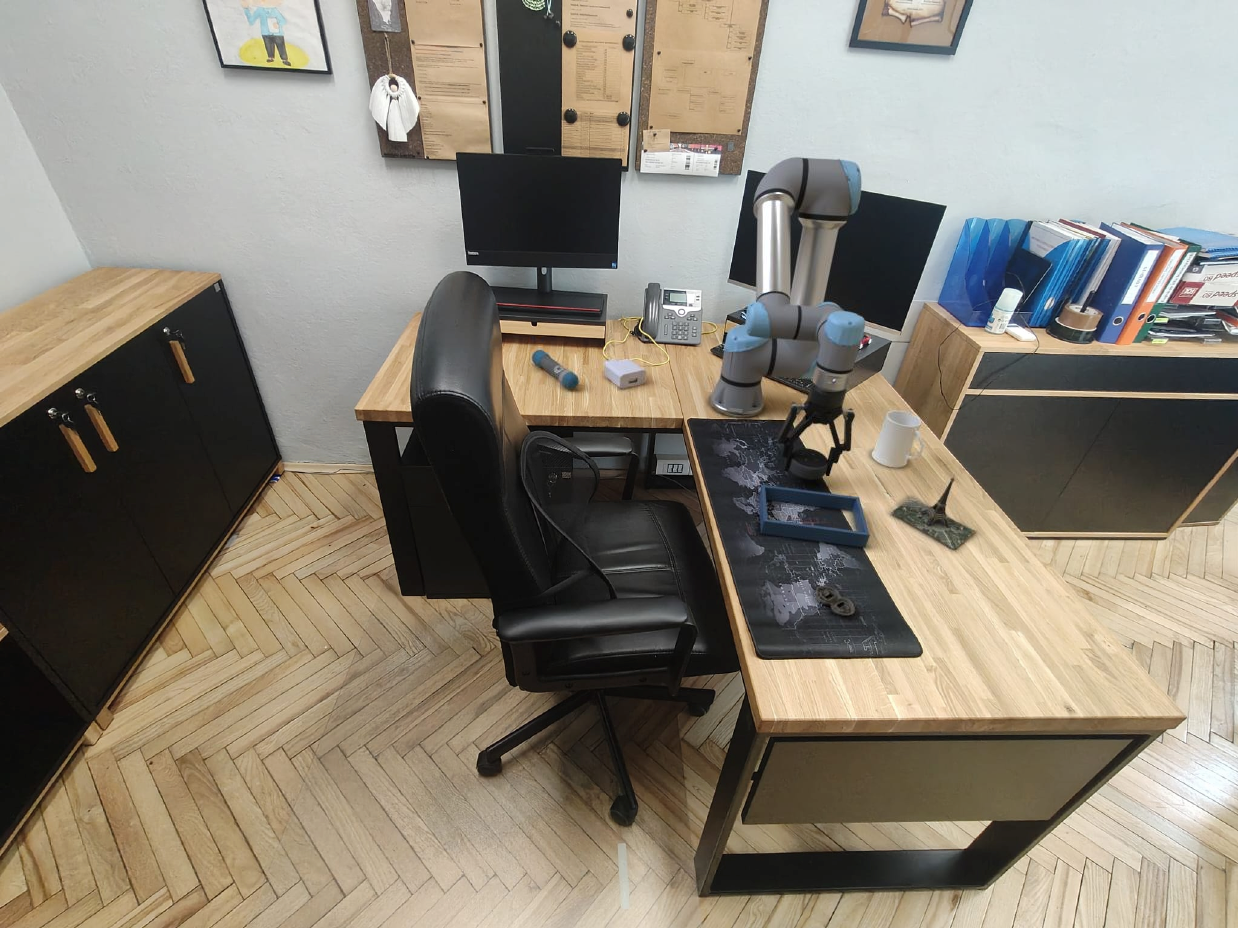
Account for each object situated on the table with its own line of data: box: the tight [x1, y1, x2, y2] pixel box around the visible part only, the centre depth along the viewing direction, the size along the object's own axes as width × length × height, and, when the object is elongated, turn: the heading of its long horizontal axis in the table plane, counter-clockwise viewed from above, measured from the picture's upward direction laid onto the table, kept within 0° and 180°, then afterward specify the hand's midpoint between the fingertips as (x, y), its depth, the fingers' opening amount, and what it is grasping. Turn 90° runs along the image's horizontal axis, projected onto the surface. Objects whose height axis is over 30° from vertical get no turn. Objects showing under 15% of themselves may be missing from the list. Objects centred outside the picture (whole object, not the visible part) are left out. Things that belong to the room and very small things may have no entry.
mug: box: [871, 409, 925, 469], centre depth 148 cm, size 12×8×12 cm
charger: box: [603, 358, 647, 389], centre depth 184 cm, size 5×9×15 cm
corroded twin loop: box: [815, 585, 856, 617], centre depth 110 cm, size 5×8×1 cm, turn 35°
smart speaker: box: [788, 447, 828, 481], centre depth 140 cm, size 9×9×4 cm
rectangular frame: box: [758, 484, 871, 548], centre depth 129 cm, size 13×22×4 cm, turn 81°
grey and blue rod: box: [531, 349, 580, 390], centre depth 181 cm, size 5×22×5 cm, turn 35°
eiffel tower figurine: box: [890, 474, 976, 551], centre depth 128 cm, size 15×10×13 cm
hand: (806, 470), depth 141 cm, fingers closed on smart speaker, 9 cm apart
